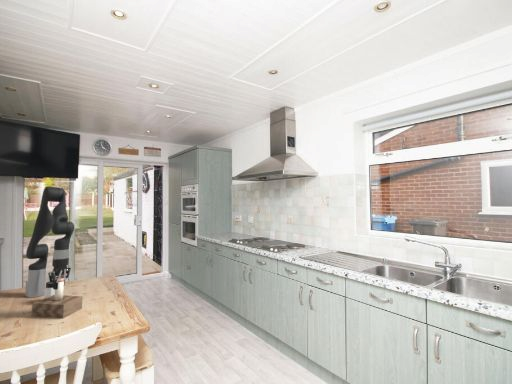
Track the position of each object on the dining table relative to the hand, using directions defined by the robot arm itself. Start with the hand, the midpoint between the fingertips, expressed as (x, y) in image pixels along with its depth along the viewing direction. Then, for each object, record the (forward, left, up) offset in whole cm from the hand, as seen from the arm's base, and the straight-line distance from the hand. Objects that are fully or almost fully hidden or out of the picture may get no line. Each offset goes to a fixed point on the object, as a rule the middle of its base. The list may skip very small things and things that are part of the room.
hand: (58, 287), depth 153 cm
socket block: (0, 0, -13) cm, 13 cm away
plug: (0, 0, -8) cm, 8 cm away
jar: (-16, +15, -14) cm, 26 cm away
